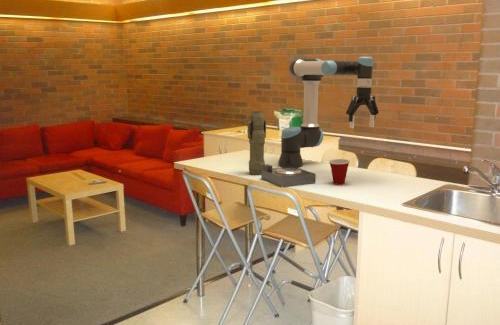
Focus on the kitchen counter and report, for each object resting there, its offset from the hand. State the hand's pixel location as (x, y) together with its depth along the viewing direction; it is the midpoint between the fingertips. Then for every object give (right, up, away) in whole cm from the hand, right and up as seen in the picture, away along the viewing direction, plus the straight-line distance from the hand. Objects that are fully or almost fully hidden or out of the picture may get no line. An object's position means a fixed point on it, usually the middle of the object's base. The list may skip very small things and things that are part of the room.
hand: (361, 127), depth 258 cm
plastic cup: (-13, -29, -5) cm, 33 cm away
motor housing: (-39, -28, 0) cm, 48 cm away
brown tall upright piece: (-55, -25, +18) cm, 63 cm away
